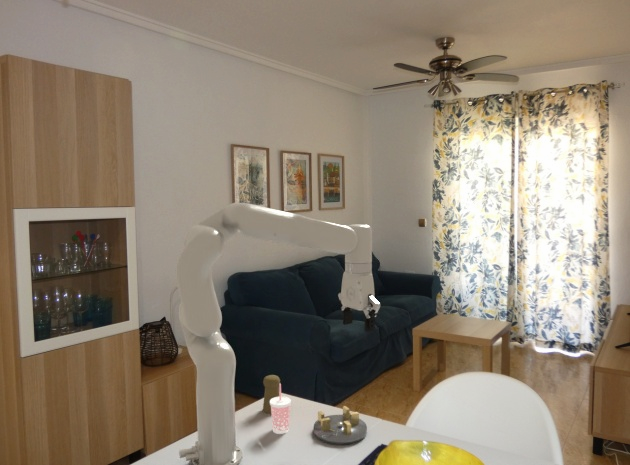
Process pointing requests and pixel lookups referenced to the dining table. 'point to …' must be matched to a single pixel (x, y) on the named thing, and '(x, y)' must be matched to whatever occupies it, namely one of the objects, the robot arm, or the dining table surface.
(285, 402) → the beverage cup
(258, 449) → the dining table surface
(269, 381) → the cork
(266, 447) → the dining table surface
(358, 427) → the gold studded metal disc
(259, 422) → the dining table surface
